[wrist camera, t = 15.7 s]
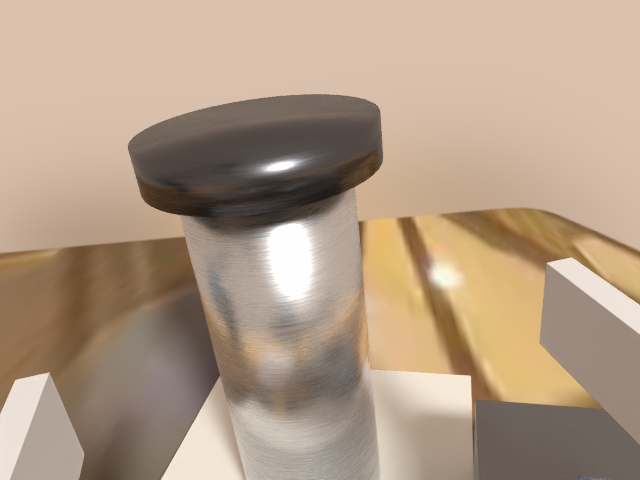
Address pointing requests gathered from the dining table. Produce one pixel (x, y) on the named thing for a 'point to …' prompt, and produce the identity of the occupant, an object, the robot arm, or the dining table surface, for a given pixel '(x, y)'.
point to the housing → (551, 443)
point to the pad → (391, 421)
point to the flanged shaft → (279, 270)
